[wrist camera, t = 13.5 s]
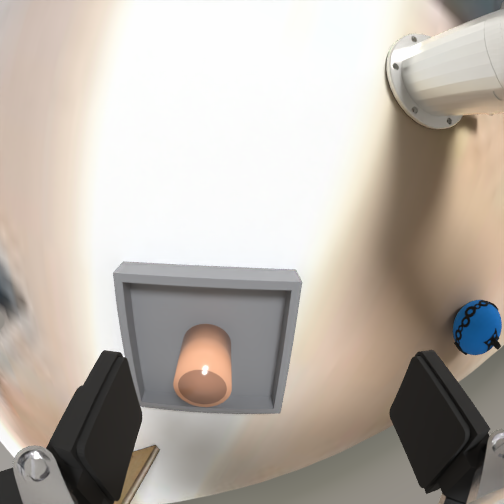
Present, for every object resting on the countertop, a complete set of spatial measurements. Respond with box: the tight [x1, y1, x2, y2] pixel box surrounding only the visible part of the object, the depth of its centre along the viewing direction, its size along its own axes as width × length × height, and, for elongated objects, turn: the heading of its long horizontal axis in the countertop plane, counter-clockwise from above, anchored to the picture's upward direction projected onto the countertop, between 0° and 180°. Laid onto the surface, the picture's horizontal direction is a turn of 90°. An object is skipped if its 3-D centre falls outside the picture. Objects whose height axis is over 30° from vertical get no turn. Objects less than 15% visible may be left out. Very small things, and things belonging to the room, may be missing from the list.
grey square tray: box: [113, 262, 302, 414], centre depth 36 cm, size 20×20×4 cm
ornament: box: [453, 300, 502, 355], centre depth 35 cm, size 9×9×10 cm
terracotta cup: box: [173, 324, 232, 407], centre depth 33 cm, size 6×6×8 cm
